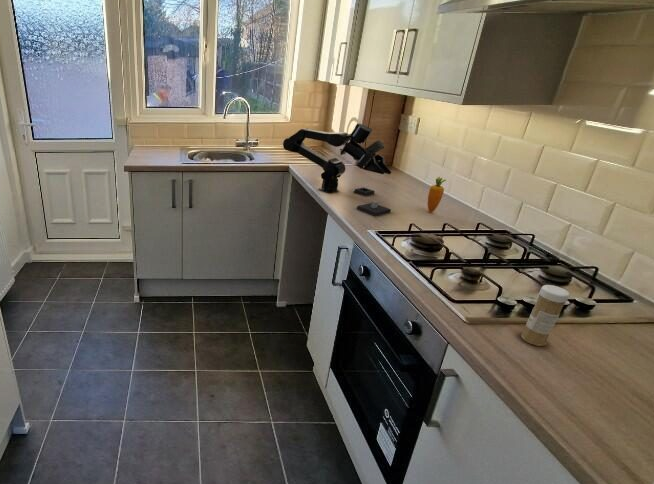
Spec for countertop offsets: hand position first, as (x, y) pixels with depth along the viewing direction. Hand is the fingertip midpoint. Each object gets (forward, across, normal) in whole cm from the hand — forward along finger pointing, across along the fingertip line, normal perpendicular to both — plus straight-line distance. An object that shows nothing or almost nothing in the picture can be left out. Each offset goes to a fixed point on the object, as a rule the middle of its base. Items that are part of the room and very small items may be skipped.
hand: (387, 173), depth 171 cm
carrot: (+22, +6, +4) cm, 23 cm away
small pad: (-5, +13, +15) cm, 20 cm away
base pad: (+7, -8, +14) cm, 17 cm away
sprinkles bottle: (+64, -67, 0) cm, 93 cm away
